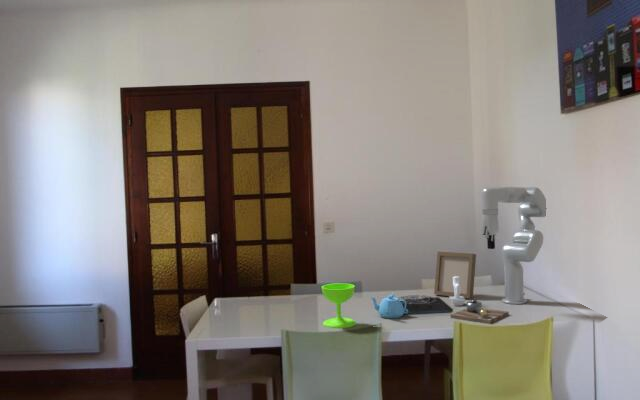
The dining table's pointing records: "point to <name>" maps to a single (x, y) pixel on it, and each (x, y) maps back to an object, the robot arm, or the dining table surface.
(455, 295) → the figurine
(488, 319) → the stand board
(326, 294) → the wineglass
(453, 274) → the photo frame
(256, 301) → the dining table surface
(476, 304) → the grey metal elongated piece
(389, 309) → the teapot
